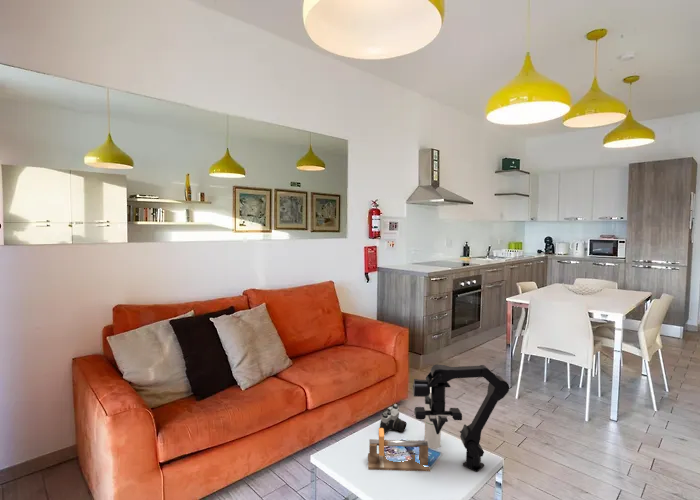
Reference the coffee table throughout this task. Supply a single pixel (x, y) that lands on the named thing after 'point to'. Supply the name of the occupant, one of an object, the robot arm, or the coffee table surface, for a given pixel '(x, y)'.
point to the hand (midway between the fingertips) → (437, 433)
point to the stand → (383, 464)
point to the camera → (392, 420)
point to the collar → (381, 441)
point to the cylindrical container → (431, 431)
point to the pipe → (400, 443)
